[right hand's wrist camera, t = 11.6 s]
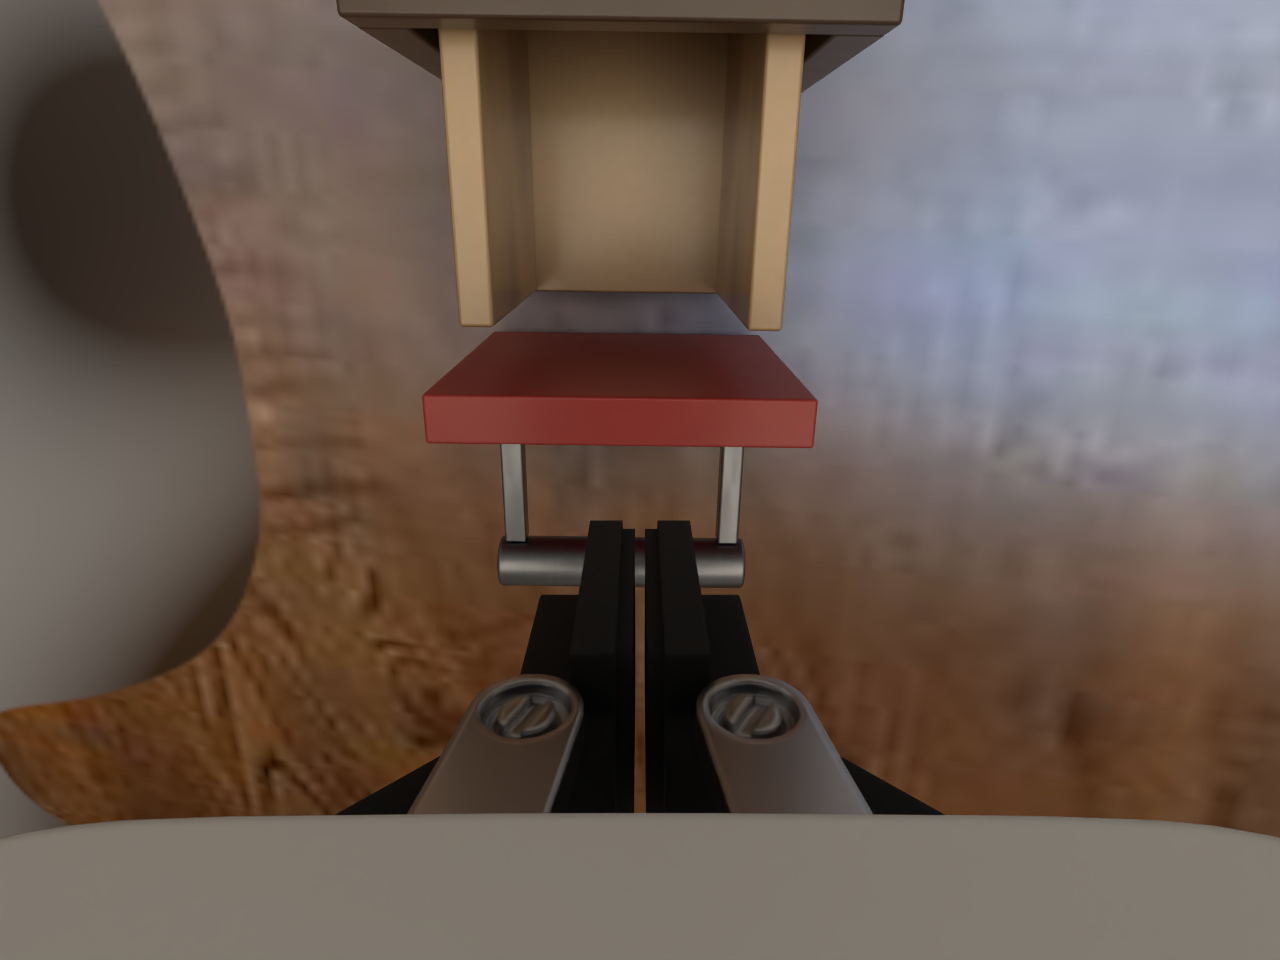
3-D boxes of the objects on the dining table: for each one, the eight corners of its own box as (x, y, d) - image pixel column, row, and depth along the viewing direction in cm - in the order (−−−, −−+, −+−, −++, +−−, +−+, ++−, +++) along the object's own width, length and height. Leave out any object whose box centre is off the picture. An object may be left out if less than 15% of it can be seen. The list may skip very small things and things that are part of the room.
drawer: (747, 506, 28) (794, 637, 19) (503, 503, 28) (443, 634, 19) (807, -345, 19) (937, -770, 11) (455, -351, 19) (311, -784, 11)
